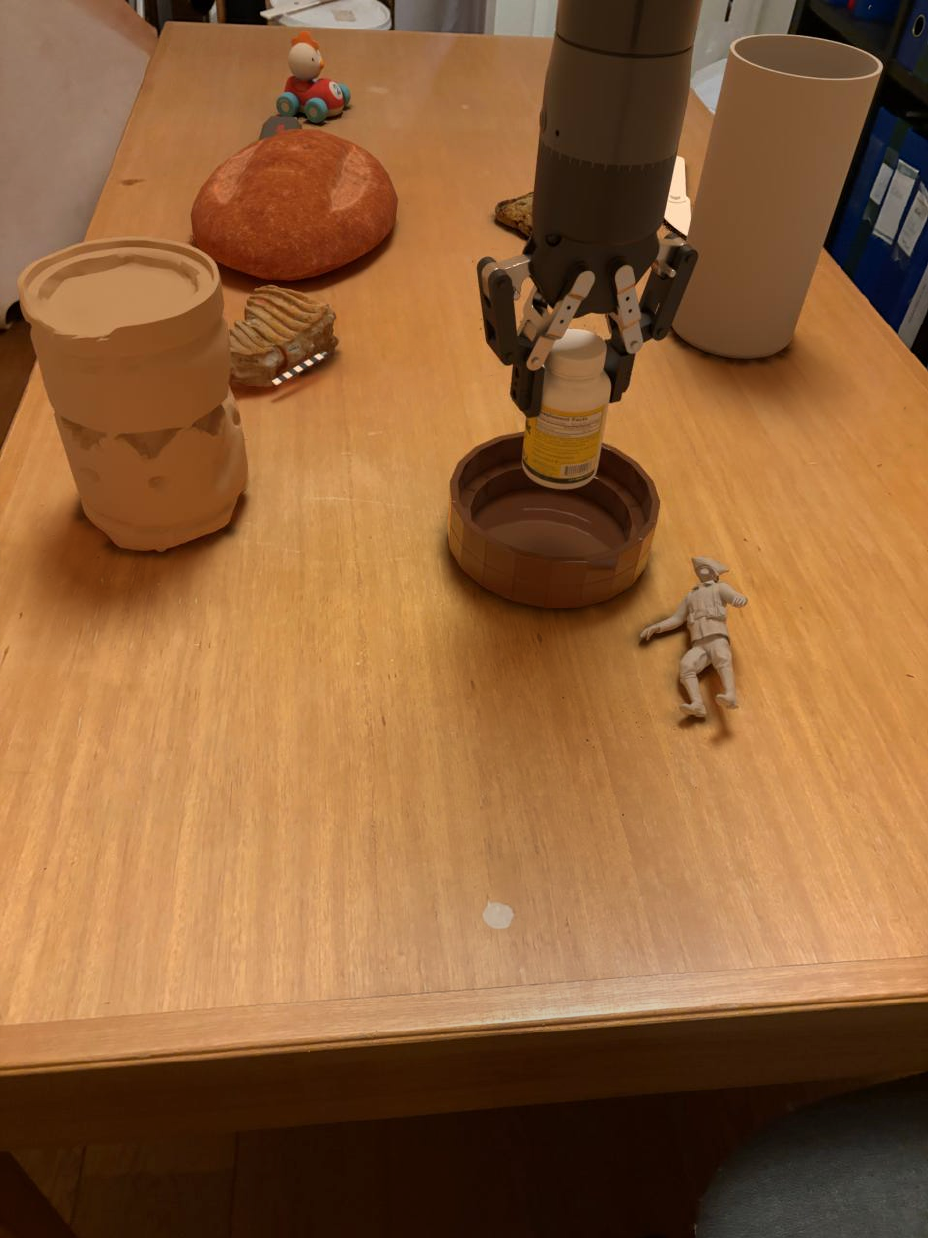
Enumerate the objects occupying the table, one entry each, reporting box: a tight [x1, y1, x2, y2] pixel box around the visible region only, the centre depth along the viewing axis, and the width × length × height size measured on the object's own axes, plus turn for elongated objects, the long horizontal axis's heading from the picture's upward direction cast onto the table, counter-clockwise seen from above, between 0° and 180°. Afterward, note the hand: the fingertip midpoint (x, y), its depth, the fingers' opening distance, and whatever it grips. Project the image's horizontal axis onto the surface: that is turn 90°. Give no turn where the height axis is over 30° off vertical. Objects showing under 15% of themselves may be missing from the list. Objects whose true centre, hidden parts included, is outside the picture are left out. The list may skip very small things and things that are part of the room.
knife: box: [664, 155, 692, 237], centre depth 118 cm, size 26×4×1 cm, turn 171°
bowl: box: [447, 430, 661, 609], centre depth 69 cm, size 15×15×5 cm
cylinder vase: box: [671, 33, 884, 360], centre depth 86 cm, size 12×12×25 cm
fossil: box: [228, 284, 340, 388], centre depth 84 cm, size 12×6×9 cm
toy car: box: [275, 30, 351, 124], centre depth 130 cm, size 9×9×10 cm
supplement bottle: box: [522, 328, 611, 490], centre depth 62 cm, size 5×5×10 cm
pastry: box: [494, 190, 534, 237], centre depth 111 cm, size 17×17×3 cm
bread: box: [190, 128, 399, 281], centre depth 104 cm, size 23×32×9 cm
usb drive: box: [258, 115, 303, 140], centre depth 122 cm, size 5×12×3 cm, turn 3°
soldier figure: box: [639, 556, 749, 718], centre depth 63 cm, size 8×5×12 cm
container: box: [16, 235, 251, 553], centre depth 66 cm, size 13×13×18 cm
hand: (568, 402), depth 62 cm, fingers closed on supplement bottle, 5 cm apart
